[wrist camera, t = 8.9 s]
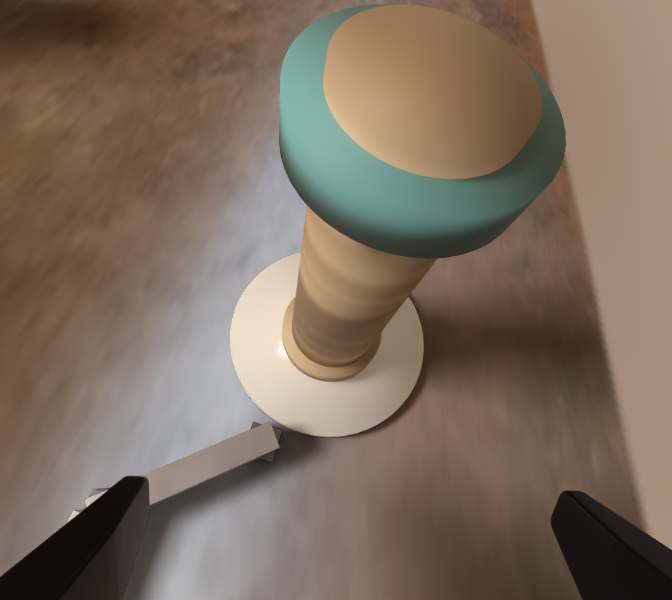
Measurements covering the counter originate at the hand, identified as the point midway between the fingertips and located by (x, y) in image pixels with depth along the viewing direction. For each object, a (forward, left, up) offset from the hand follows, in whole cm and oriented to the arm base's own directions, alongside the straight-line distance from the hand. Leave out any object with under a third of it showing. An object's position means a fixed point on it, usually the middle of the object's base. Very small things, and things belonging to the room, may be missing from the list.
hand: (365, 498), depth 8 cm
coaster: (+6, +1, -8) cm, 11 cm away
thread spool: (+6, +1, -8) cm, 10 cm away
